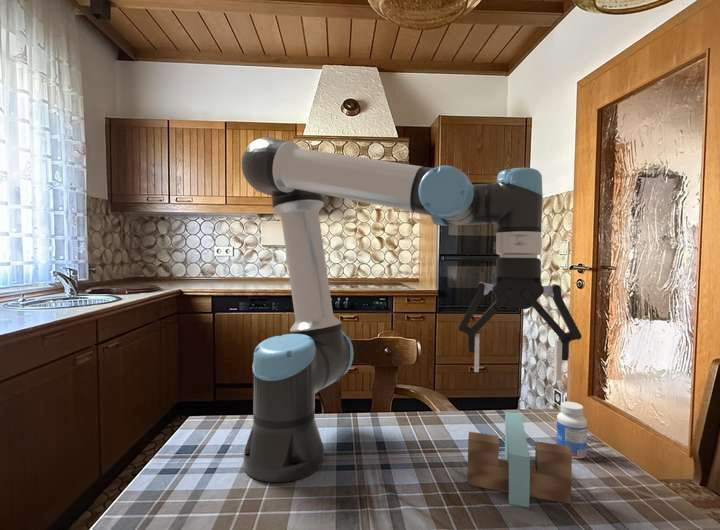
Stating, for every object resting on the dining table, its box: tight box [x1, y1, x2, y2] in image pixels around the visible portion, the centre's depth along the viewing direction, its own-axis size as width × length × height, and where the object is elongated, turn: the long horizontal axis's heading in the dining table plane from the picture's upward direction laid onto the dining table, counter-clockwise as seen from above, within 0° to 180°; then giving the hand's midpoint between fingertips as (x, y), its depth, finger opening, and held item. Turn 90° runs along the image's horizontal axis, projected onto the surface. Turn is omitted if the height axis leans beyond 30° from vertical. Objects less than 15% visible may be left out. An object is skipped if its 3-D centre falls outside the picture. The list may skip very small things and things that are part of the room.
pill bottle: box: [556, 401, 588, 459], centre depth 78 cm, size 6×5×10 cm
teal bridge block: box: [504, 411, 531, 508], centre depth 70 cm, size 3×18×8 cm, turn 161°
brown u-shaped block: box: [467, 431, 573, 505], centre depth 66 cm, size 16×3×8 cm, turn 71°
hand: (515, 374), depth 70 cm, fingers open, 13 cm apart
